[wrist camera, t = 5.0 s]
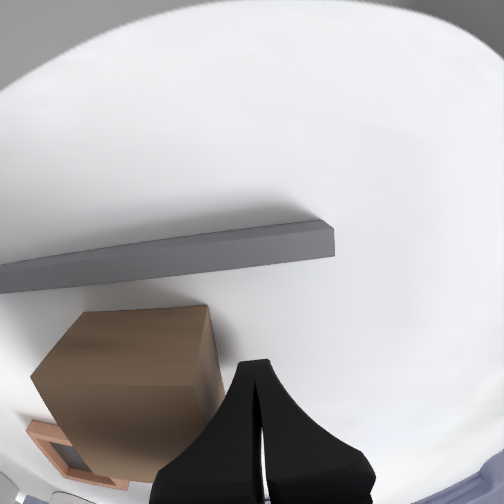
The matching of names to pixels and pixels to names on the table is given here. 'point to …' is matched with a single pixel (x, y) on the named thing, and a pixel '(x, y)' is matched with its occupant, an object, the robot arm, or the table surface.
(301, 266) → the table surface
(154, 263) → the hook tool
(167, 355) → the walnut block
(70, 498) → the cup
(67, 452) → the trap pits
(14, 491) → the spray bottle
